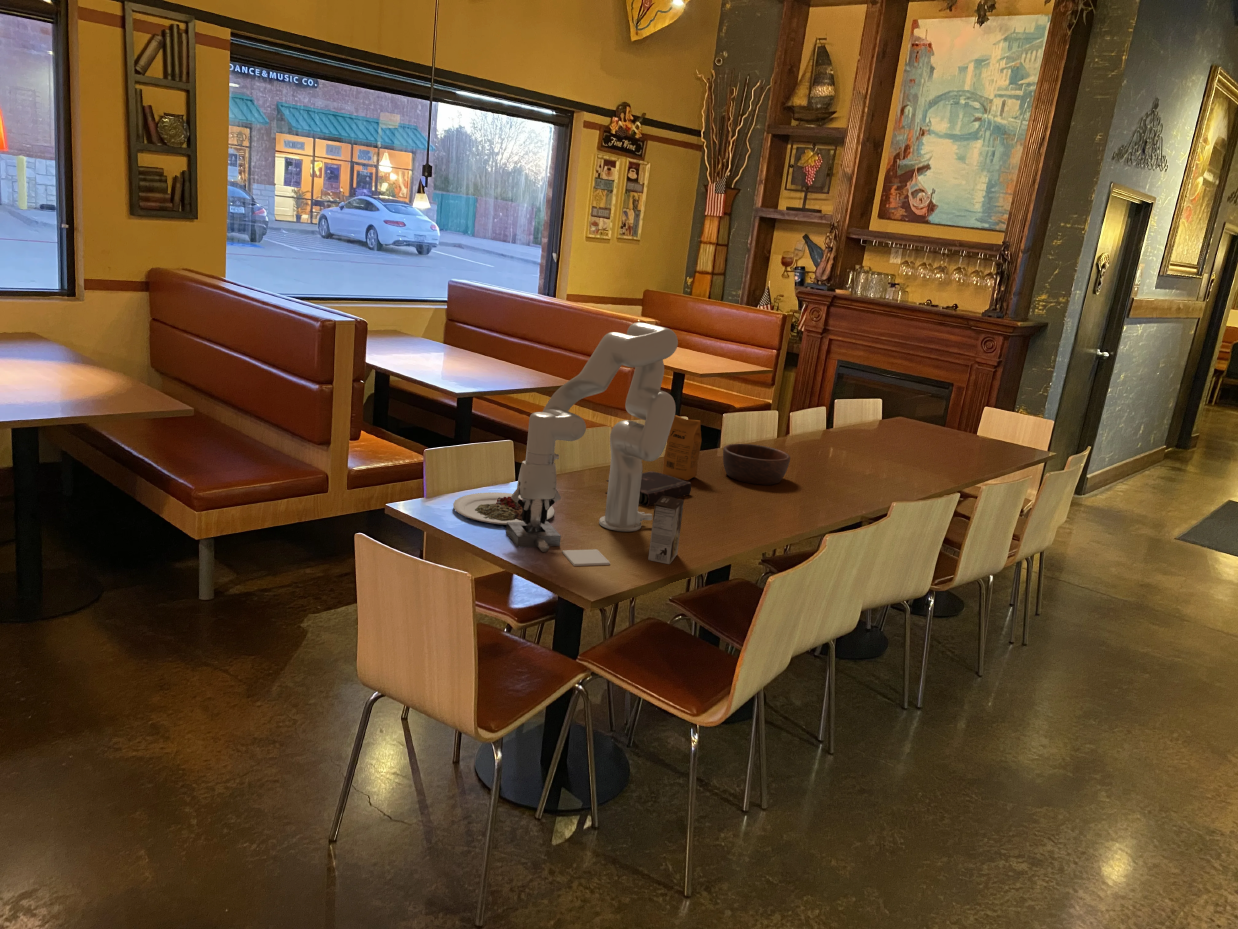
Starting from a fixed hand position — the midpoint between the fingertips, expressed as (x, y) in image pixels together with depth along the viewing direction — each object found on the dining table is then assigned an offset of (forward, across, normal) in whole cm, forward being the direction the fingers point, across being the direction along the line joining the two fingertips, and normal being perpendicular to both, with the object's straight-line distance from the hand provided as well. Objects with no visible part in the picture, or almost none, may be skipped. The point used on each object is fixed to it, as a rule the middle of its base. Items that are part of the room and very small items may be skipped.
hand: (533, 521), depth 259 cm
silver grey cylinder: (+4, 0, 0) cm, 4 cm away
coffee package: (+5, -74, -63) cm, 97 cm away
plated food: (+5, +2, -24) cm, 25 cm away
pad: (+5, -10, +16) cm, 20 cm away
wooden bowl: (+5, -104, -61) cm, 121 cm away
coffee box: (+5, -32, +17) cm, 37 cm away
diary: (+5, -52, -42) cm, 67 cm away
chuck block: (+5, 0, +2) cm, 6 cm away
